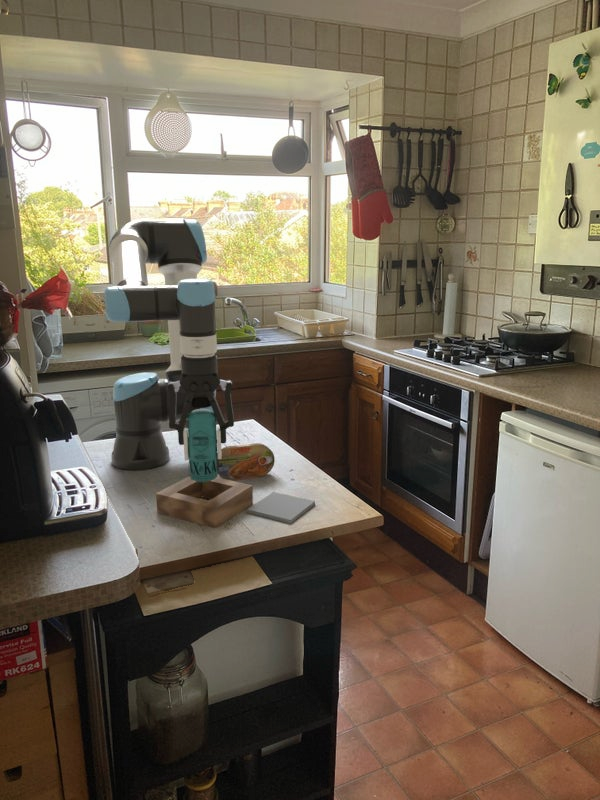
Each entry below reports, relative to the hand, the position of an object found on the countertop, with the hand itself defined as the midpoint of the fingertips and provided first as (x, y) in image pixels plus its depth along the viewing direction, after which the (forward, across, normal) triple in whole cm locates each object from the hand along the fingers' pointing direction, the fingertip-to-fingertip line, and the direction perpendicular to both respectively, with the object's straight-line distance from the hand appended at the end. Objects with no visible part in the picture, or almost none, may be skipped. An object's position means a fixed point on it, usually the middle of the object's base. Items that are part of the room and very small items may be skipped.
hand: (203, 457), depth 139 cm
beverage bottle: (+6, 0, 0) cm, 6 cm away
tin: (+12, +9, +18) cm, 23 cm away
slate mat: (+12, +17, -3) cm, 21 cm away
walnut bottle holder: (+12, 0, 0) cm, 12 cm away
